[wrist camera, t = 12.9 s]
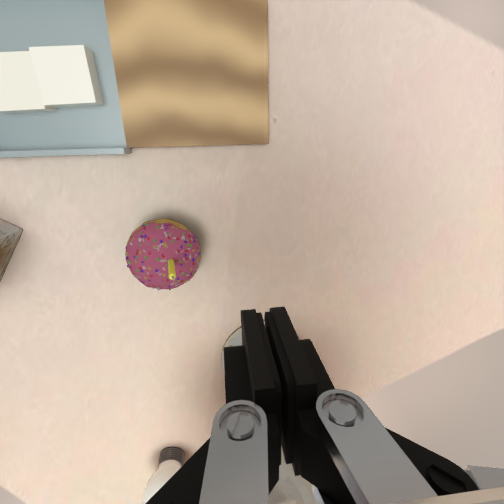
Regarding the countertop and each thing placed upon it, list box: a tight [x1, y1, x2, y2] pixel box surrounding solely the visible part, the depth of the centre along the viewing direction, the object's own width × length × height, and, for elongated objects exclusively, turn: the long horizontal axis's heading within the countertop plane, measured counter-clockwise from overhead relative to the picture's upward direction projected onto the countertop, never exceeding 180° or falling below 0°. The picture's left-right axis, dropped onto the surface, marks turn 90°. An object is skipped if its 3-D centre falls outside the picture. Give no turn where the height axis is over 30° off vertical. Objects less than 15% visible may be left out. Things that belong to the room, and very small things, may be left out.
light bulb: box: [142, 447, 185, 504], centre depth 47 cm, size 7×7×11 cm
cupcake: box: [125, 219, 201, 290], centre depth 34 cm, size 9×8×12 cm
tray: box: [0, 0, 131, 157], centre depth 31 cm, size 15×15×3 cm
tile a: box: [29, 45, 104, 108], centre depth 31 cm, size 5×5×2 cm
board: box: [104, 0, 269, 148], centre depth 33 cm, size 14×16×2 cm
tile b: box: [0, 51, 57, 114], centre depth 31 cm, size 5×5×2 cm
